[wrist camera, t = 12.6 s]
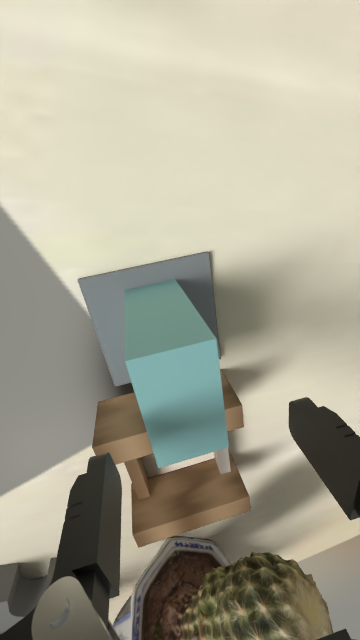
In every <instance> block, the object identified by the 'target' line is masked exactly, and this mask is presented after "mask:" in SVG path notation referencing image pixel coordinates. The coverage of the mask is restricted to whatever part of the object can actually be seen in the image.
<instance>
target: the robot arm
mask: <svg viewBox="0 0 360 640" xmlns="http://www.w3.org/2000/svg"><path fill="white" fill-rule="evenodd" d="M289 429H290V432H291V435H292V437H293V439H294V440H295V442H296V443H297V445H298V446H299V448H300V449H301V450H302V452H303V453H304V455H305V456H306V458H307V459H308V461H309V462H310V463H311V465H312V466H313V468H314V469H315V471H316V472H317V473H318V475H319V476H320V478H321V479H322V481H323V482H324V484H325V485H326V486H327V488H328V489H329V491H330V492H331V494H332V495H333V496H334V498H335V499H336V501H337V502H338V504H339V505H340V507H341V508H342V509H343V511H344V512H345V514H346V515H347V517H348V518H349V519H350V520H353V519H356V518H359V517H360V437H359V436H358V435H356V434H355V432H354V431H353V430H352V429H351V428H350V427H349V426H347V424H346V423H345V422H344V421H343V420H342V419H341V418H340V417H339V416H338V415H337V414H336V413H335V412H333V411H331V410H329V409H328V408H326V407H324V406H322V407H319V408H318V407H317V406H316V405H315V404H314V403H313V402H312V401H311V400H310V399H309V398H307V397H305V398H302V399H298V400H295V401H291V402H290V403H289ZM121 499H122V486H121V479H120V475H119V472H118V470H117V468H116V466H115V464H114V461H113V459H112V457H111V455H110V453H109V452H107V453H104V454H100V455H97V456H93V457H90V459H89V462H88V468H87V473H86V474H82V475H79V476H78V477H77V479H76V481H75V483H74V485H73V487H72V488H71V490H70V495H69V500H68V505H67V506H68V508H67V510H66V515H65V522H64V525H63V530H62V535H61V540H60V545H59V549H58V554H57V559H56V564H55V569H54V574H53V578H52V580H51V583H50V585H49V588H48V589H47V590H46V591H45V593H44V594H43V595H42V597H41V599H40V600H39V602H38V604H37V606H36V607H35V608H34V609H33V610H32V611H31V612H30V613H29V614H28V615H27V616H25V617H24V618H23V619H21V620H20V621H19V622H17V623H16V624H15V625H13V626H12V627H11V628H9V629H8V630H7V631H5V632H4V633H3V634H1V635H0V640H120V638H119V636H118V634H117V633H116V631H115V629H114V627H113V626H112V624H111V622H110V620H109V619H108V613H109V599H110V598H113V597H116V596H119V580H120V540H121ZM317 640H355V639H351V638H350V636H349V634H348V632H347V630H346V629H344V630H341V631H338V632H335V633H333V634H330V635H327V636H325V637H322V638H319V639H317Z"/></svg>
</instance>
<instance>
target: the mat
mask: <svg viewBox="0 0 360 640" xmlns="http://www.w3.org/2000/svg"><path fill="white" fill-rule="evenodd" d="M174 279H175V280H176V281H177V282H178V284H179V285H180V287H181V288H182V290H183V291H184V293H185V294H186V295H187V297H188V298H189V300H190V301H191V303H192V304H193V306H194V307H195V309H196V310H197V311H198V313H199V314H200V316H201V317H202V319H203V320H204V322H205V323H206V324H207V326H208V327H209V329H210V330H211V332H212V333H213V335H214V336H215V337H216V340H217V349H218V357H219V359H221V355H220V346H219V338H218V329H217V320H216V311H215V303H214V294H213V285H212V276H211V268H210V259H209V252H203V253H198V254H193V255H189V256H184V257H179V258H174V259H170V260H165V261H160V262H156V263H151V264H146V265H141V266H137V267H132V268H127V269H122V270H118V271H113V272H108V273H103V274H99V275H94V276H89V277H84V278H80V279H78V283H79V285H80V288H81V291H82V294H83V297H84V300H85V302H86V305H87V308H88V311H89V314H90V317H91V319H92V322H93V325H94V328H95V331H96V333H97V336H98V339H99V342H100V345H101V348H102V351H103V353H104V356H105V359H106V362H107V365H108V368H109V371H110V373H111V376H112V379H113V382H114V385H115V386H119V385H123V384H126V383H130V382H131V379H130V376H129V372H128V369H127V366H126V363H125V290H128V289H133V288H137V287H142V286H147V285H151V284H156V283H160V282H165V281H169V280H174Z"/></svg>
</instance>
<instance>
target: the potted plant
mask: <svg viewBox="0 0 360 640" xmlns="http://www.w3.org/2000/svg"><path fill="white" fill-rule="evenodd" d="M113 627H114V629H115V631H116V633H117V634H118V636H119V638H120V640H317V639H319V638H322V637H325V636H327V635H330V634H333V630H332V624H331V620H330V616H329V611H328V607H327V603H326V601H324V599H323V598H322V595H321V594H320V592H319V590H318V589H317V587H316V583H315V582H314V581H313V577H312V574H309V575H306V574H304V573H303V571H302V570H301V568H300V567H299V565H298V564H297V562H296V561H294V560H293V559H292V560H284V559H282V558H281V557H280V556H279V555H273V554H270V553H263V554H261V553H254V552H252V553H251V556H250V558H248V557H245V558H240V559H239V560H238V561H237V563H232V564H231V563H230V562H229V560H228V559H227V557H226V556H225V555H224V553H223V552H222V551H221V550H220V549H219V548H218V547H217V546H216V545H215V544H214V543H213V542H211V541H209V540H201V539H196V538H193V539H189V538H178V537H174V538H168V539H167V540H166V541H165V543H164V544H163V545H162V546H161V548H160V550H159V551H158V553H157V555H156V556H155V557H154V559H153V560H152V562H151V563H150V564H149V565H148V567H147V568H146V569H145V571H144V573H143V575H142V577H141V579H140V580H139V581H138V583H137V584H136V587H135V589H134V591H133V593H132V595H131V596H130V597H129V599H128V600H127V602H126V603H125V604H124V606H123V607H122V609H121V610H120V612H119V614H118V615H117V617H116V619H115V621H114V624H113Z"/></svg>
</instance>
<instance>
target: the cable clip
mask: <svg viewBox="0 0 360 640" xmlns="http://www.w3.org/2000/svg"><path fill="white" fill-rule="evenodd" d="M56 559H57V557H56V558H51V561H50V566H49V571H48V575H46V576H45V577H42V578H38V579H26V578H24V577H22V576H21V575H20V569H19V563H14V564H7V565H0V635H1V634H3V633H4V632H5V631H7V630H8V629H9V628H11V627H12V626H13V625H15V624H16V623H17V622H19V621H20V620H21V619H23V618H24V617H25V616H27V615H28V614H29V613H30V612H31V611H32V610H33V609H34V608H35V607H36V606H37V604H38V602H39V600H40V599H41V597H42V595H43V594H44V593H45V591H46V590H47V589H48V588H49V585H50V583H51V580H52V578H53V574H54V569H55V564H56Z"/></svg>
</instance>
